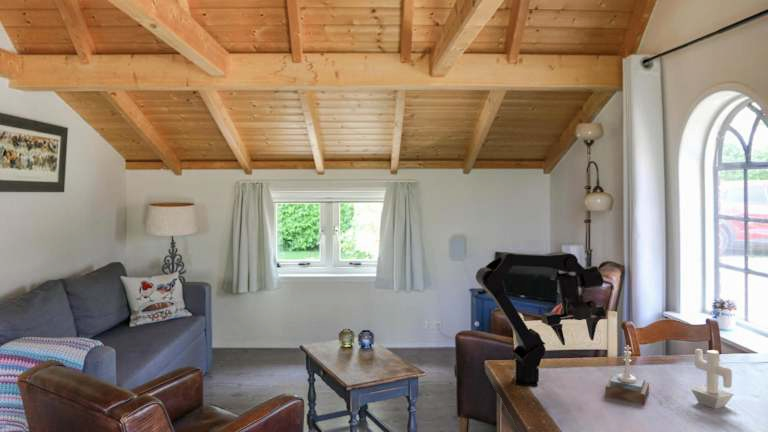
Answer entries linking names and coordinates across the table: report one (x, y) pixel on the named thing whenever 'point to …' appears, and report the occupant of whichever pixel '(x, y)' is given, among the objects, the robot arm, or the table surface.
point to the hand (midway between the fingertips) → (577, 342)
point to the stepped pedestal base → (627, 389)
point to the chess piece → (627, 368)
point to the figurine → (712, 380)
